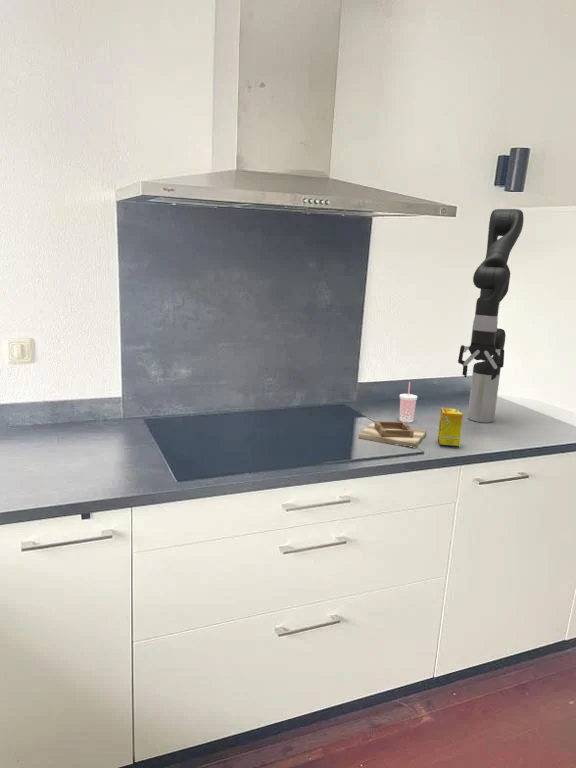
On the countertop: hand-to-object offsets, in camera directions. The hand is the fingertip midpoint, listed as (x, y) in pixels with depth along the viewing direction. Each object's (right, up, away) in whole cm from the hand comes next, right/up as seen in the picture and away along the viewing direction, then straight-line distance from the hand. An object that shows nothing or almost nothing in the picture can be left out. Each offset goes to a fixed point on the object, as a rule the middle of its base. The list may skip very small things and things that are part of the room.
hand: (478, 378), depth 195 cm
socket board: (-30, -19, -7) cm, 36 cm away
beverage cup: (-21, -15, +12) cm, 29 cm away
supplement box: (-13, -21, -12) cm, 27 cm away
